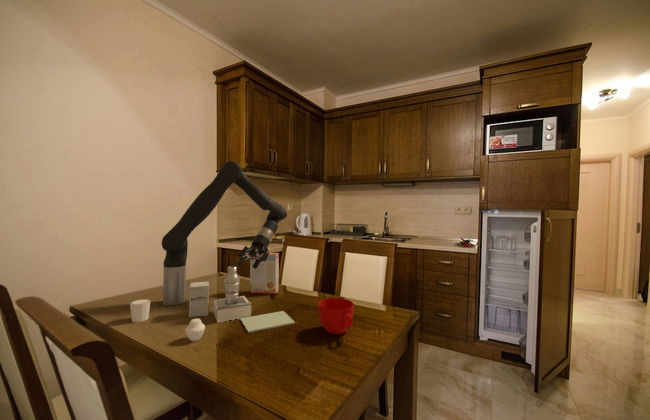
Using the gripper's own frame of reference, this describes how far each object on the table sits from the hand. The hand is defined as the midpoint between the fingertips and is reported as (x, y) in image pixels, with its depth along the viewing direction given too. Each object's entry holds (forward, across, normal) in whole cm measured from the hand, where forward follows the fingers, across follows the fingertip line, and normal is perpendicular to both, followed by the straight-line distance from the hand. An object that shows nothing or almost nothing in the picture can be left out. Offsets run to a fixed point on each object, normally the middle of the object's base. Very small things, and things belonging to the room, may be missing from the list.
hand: (246, 266), depth 124 cm
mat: (+18, +18, +8) cm, 27 cm away
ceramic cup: (+16, +47, +11) cm, 50 cm away
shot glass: (+34, -28, -8) cm, 45 cm away
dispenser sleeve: (+19, 0, +7) cm, 20 cm away
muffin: (+35, +5, -9) cm, 36 cm away
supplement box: (+23, -12, +3) cm, 27 cm away
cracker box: (-3, -7, +29) cm, 30 cm away
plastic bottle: (+19, 0, +7) cm, 21 cm away
